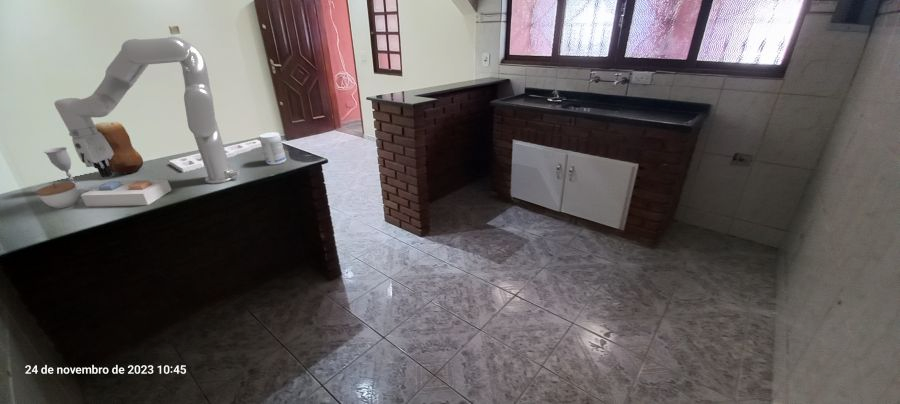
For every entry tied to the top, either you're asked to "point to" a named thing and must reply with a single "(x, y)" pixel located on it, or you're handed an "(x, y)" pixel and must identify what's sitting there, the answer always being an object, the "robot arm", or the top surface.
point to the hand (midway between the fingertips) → (107, 176)
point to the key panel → (127, 194)
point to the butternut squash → (120, 148)
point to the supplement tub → (272, 148)
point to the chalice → (62, 161)
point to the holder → (192, 163)
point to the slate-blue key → (110, 185)
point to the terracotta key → (139, 185)
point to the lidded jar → (59, 194)
